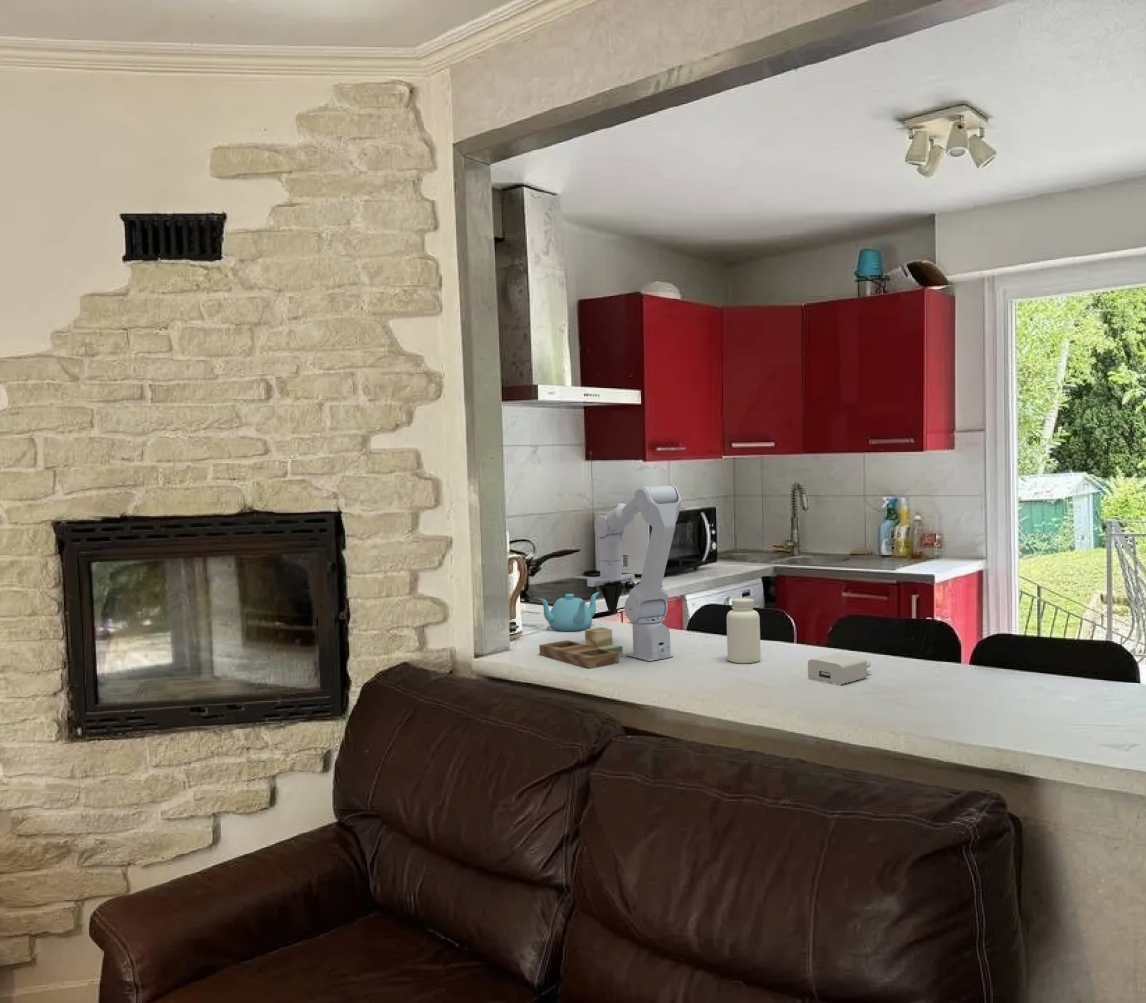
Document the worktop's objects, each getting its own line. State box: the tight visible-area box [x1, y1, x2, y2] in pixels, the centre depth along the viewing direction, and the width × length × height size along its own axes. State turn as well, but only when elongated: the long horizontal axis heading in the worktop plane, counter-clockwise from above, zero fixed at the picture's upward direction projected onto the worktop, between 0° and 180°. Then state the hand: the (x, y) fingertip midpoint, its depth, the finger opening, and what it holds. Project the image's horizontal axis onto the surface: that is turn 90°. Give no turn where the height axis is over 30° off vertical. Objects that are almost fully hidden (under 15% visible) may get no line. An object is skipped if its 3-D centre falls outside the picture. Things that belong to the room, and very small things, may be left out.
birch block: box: [584, 626, 613, 648], centre depth 243 cm, size 5×5×4 cm
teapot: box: [538, 591, 600, 632], centre depth 282 cm, size 15×15×10 cm
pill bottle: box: [726, 597, 762, 664], centre depth 231 cm, size 8×8×15 cm
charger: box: [807, 653, 872, 686], centre depth 212 cm, size 5×9×15 cm
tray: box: [539, 640, 623, 669], centre depth 241 cm, size 22×14×2 cm, turn 35°
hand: (612, 610), depth 254 cm, fingers closed
